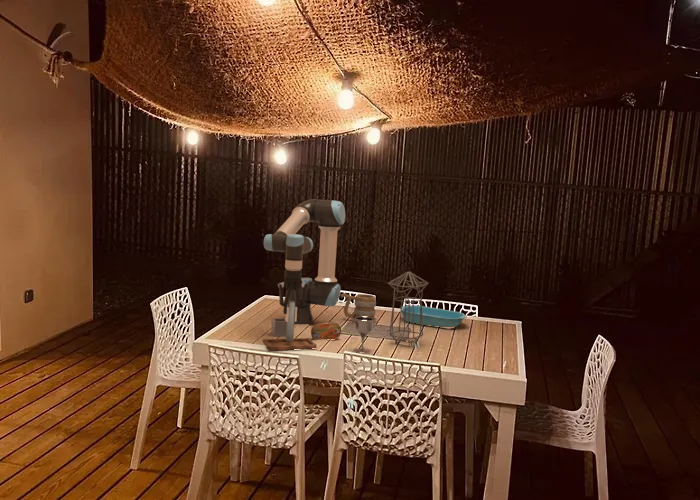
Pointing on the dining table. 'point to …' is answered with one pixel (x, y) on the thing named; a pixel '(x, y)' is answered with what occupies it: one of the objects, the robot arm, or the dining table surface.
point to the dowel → (290, 321)
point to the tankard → (360, 306)
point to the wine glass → (363, 330)
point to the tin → (325, 331)
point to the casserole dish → (433, 316)
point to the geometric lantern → (409, 305)
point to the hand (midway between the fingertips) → (290, 320)
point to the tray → (288, 344)
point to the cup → (279, 327)
